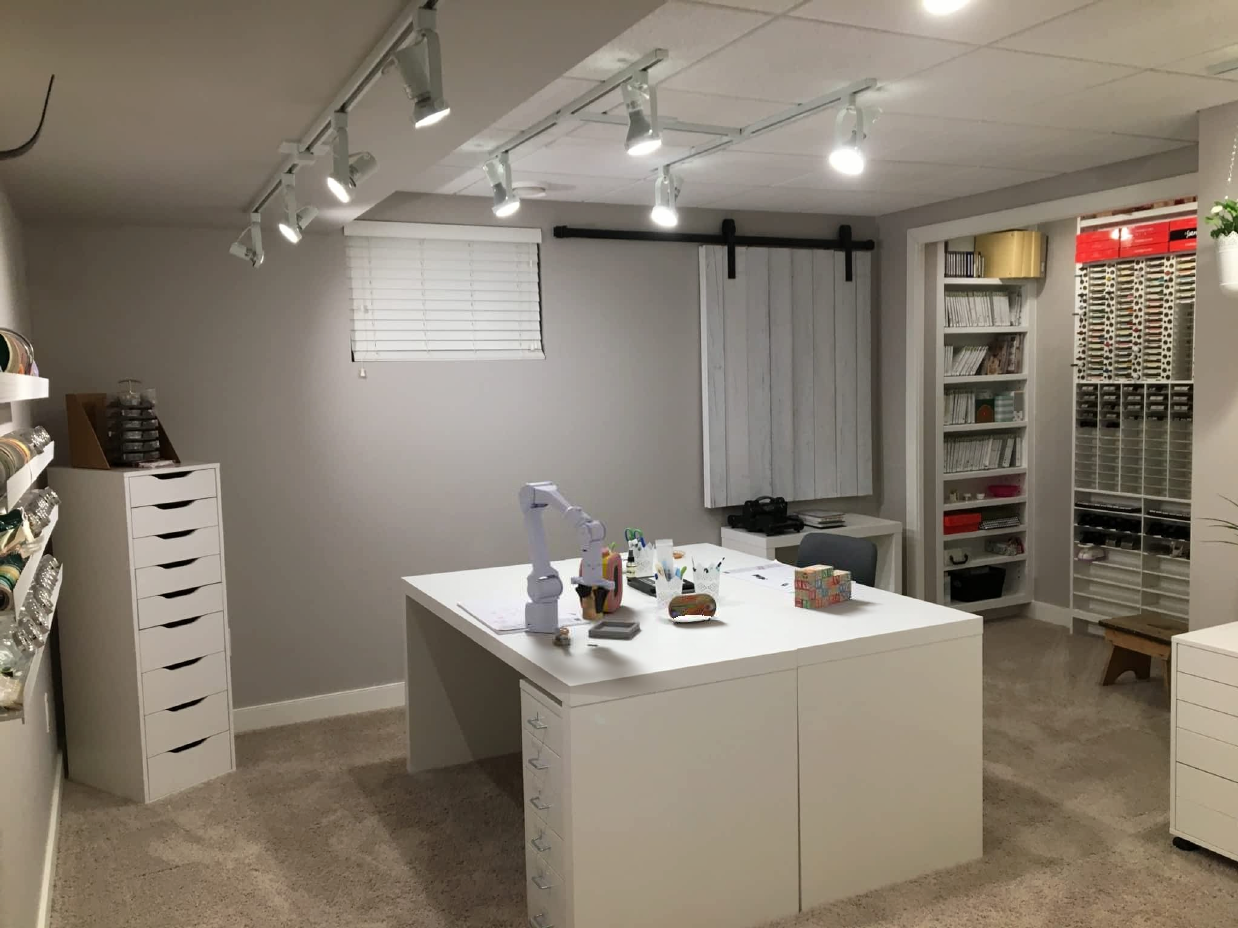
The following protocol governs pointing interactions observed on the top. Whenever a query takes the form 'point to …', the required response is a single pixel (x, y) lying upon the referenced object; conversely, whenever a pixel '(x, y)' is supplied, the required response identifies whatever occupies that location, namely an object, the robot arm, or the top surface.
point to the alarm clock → (610, 579)
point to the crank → (562, 635)
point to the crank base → (558, 642)
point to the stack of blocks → (821, 586)
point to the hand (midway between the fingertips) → (593, 611)
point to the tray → (614, 629)
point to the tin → (692, 605)
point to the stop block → (590, 609)
